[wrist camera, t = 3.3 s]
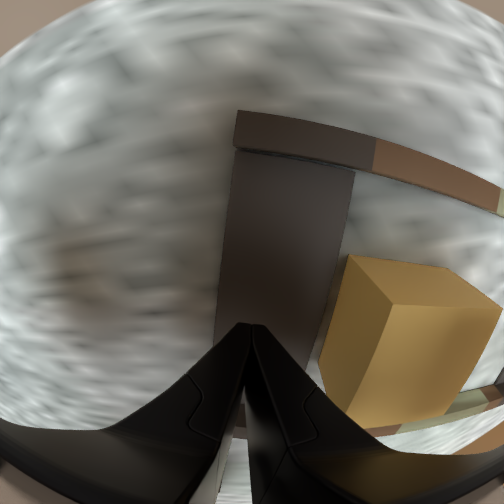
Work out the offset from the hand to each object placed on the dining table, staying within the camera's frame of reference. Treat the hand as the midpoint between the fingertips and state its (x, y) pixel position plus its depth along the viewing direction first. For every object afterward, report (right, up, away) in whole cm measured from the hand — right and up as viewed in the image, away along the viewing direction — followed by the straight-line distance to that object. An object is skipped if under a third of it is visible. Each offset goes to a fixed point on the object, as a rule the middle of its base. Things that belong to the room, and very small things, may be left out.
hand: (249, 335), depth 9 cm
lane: (+11, -1, +2) cm, 11 cm away
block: (+6, 0, +2) cm, 6 cm away
